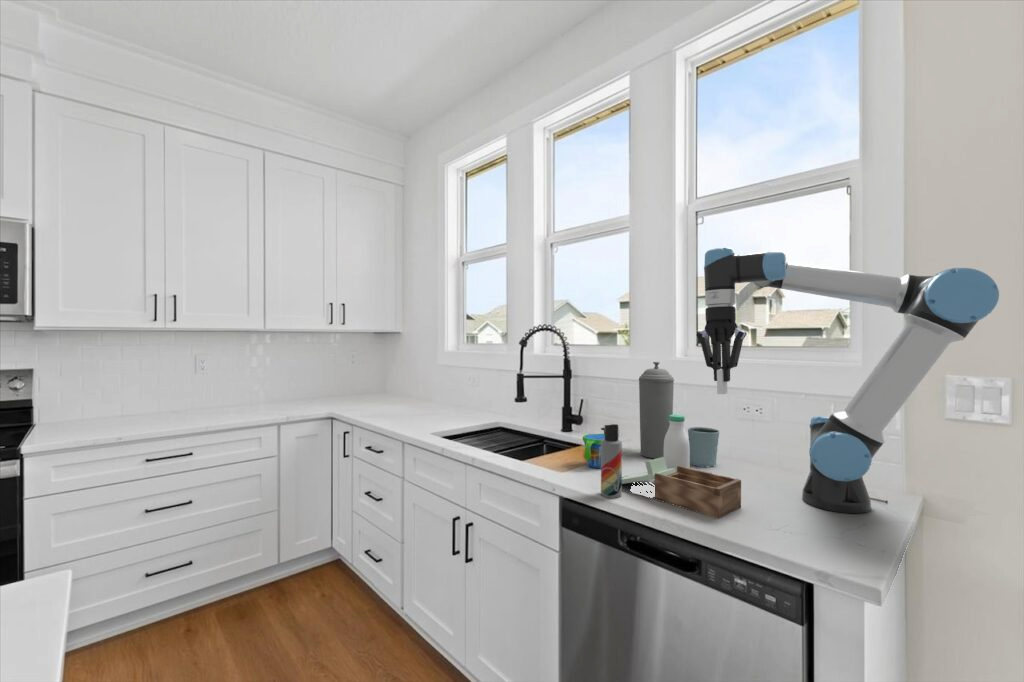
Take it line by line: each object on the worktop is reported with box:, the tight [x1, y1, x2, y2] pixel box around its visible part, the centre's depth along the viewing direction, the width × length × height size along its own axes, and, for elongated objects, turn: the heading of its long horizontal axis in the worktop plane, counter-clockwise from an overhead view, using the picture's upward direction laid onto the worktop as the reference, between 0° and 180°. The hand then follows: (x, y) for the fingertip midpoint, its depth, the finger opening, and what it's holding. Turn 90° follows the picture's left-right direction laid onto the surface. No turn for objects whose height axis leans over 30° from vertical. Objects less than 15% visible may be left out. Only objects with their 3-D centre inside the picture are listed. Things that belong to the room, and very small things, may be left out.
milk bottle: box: [663, 414, 691, 472], centre depth 150 cm, size 8×8×20 cm
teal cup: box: [687, 426, 720, 467], centre depth 169 cm, size 10×10×12 cm
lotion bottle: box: [600, 423, 623, 499], centre depth 136 cm, size 6×6×20 cm
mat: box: [622, 475, 655, 499], centre depth 144 cm, size 17×13×1 cm
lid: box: [622, 457, 676, 484], centre depth 142 cm, size 16×10×5 cm, turn 40°
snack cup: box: [582, 433, 605, 469], centre depth 166 cm, size 16×10×10 cm
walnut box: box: [654, 466, 742, 519], centre depth 129 cm, size 18×12×7 cm, turn 40°
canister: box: [638, 361, 675, 460], centre depth 180 cm, size 13×13×35 cm
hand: (722, 393), depth 131 cm, fingers closed
